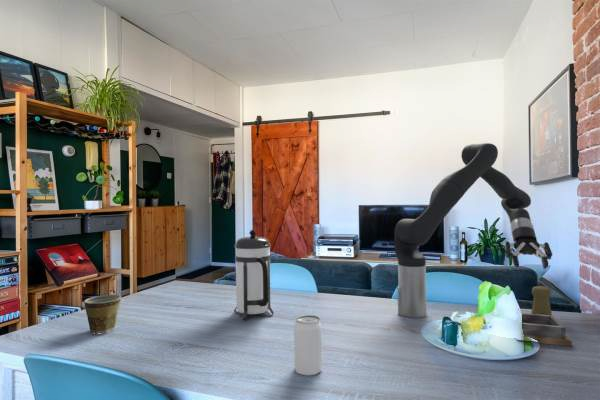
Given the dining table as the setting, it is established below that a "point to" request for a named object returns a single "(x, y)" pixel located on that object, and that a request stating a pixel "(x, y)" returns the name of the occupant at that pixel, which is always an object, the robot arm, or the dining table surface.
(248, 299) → the coffee press
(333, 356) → the dining table surface
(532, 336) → the brown wooden tray
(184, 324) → the dining table surface
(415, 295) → the robot arm
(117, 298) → the ceramic cup
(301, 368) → the can
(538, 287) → the cork
